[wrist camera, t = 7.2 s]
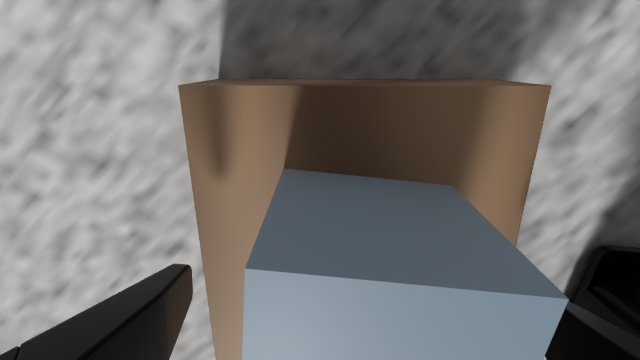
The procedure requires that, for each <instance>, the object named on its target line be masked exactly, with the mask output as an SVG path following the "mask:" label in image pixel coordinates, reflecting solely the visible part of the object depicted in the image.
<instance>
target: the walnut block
mask: <svg viewBox="0 0 640 360" xmlns="http://www.w3.org/2000/svg"><path fill="white" fill-rule="evenodd" d="M178 87H179V94H180V101H181V109H182V116H183V123H184V130H185V138H186V145H187V152H188V160H189V167H190V174H191V181H192V189H193V196H194V203H195V210H196V218H197V225H198V232H199V240H200V247H201V254H202V261H203V269H204V276H205V283H206V290H207V298H208V305H209V312H210V320H211V327H212V334H213V341H214V349H215V356H216V360H242V344H243V312H244V279H245V267H246V264H247V262H248V259H249V256H250V254H251V251H252V249H253V246H254V243H255V241H256V238H257V236H258V233H259V231H260V228H261V225H262V223H263V220H264V218H265V215H266V212H267V210H268V207H269V205H270V202H271V199H272V197H273V194H274V192H275V189H276V186H277V184H278V181H279V179H280V176H281V174H282V171H283V168H285V169H295V170H305V171H315V172H325V173H335V174H345V175H354V176H364V177H374V178H384V179H394V180H404V181H414V182H423V183H433V184H443V185H452V186H453V187H454V188H455V189H456V190H457V191H458V192H459V193H460V194H461V195H462V196H463V197H464V198H465V199H467V200H468V201H469V202H470V203H471V204H472V205H473V206H474V207H475V208H476V209H477V210H478V211H479V212H480V213H481V214H482V215H483V216H484V217H485V218H486V219H487V220H488V221H489V222H490V223H491V224H492V225H493V226H494V227H495V228H496V229H497V230H498V231H499V232H500V233H501V234H502V235H503V236H505V237H506V238H507V239H508V240H509V241H510V242H511V243H512V244H513V245H514V246H515V245H516V241H517V237H518V232H519V228H520V223H521V219H522V214H523V210H524V205H525V201H526V196H527V192H528V188H529V183H530V179H531V174H532V170H533V165H534V161H535V156H536V152H537V148H538V143H539V139H540V134H541V130H542V125H543V121H544V116H545V112H546V107H547V103H548V99H549V94H550V90H551V86H549V85H540V84H530V83H521V82H511V81H502V80H492V79H215V80H209V81H203V82H196V83H190V84H184V85H178Z"/></svg>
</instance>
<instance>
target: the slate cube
mask: <svg viewBox="0 0 640 360" xmlns="http://www.w3.org/2000/svg"><path fill="white" fill-rule="evenodd" d="M568 300H569V299H568V298H567V297H566V296H565V295H564V294H563V293H562V292H561V291H560V290H559V289H558V288H557V287H556V286H555V285H554V284H553V283H552V282H551V281H550V280H549V279H548V278H547V277H546V276H545V275H544V274H543V273H541V272H540V271H539V270H538V269H537V268H536V267H535V266H534V265H533V264H532V263H531V262H530V261H529V260H528V259H527V258H526V257H525V256H524V255H523V254H522V253H521V252H520V251H519V250H518V249H517V248H516V247H515V246H514V245H513V244H512V243H511V242H510V241H509V240H508V239H507V238H506V237H505V236H503V235H502V234H501V233H500V232H499V231H498V230H497V229H496V228H495V227H494V226H493V225H492V224H491V223H490V222H489V221H488V220H487V219H486V218H485V217H484V216H483V215H482V214H481V213H480V212H479V211H478V210H477V209H476V208H475V207H474V206H473V205H472V204H471V203H470V202H469V201H468V200H467V199H465V198H464V197H463V196H462V195H461V194H460V193H459V192H458V191H457V190H456V189H455V188H454V187H453V186H452V185H443V184H433V183H423V182H414V181H404V180H394V179H384V178H374V177H364V176H354V175H345V174H335V173H325V172H315V171H305V170H295V169H285V168H283V171H282V174H281V176H280V179H279V181H278V184H277V186H276V189H275V192H274V194H273V197H272V199H271V202H270V205H269V207H268V210H267V212H266V215H265V218H264V220H263V223H262V225H261V228H260V231H259V233H258V236H257V238H256V241H255V243H254V246H253V249H252V251H251V254H250V256H249V259H248V262H247V264H246V267H245V279H244V312H243V344H242V360H543V358H544V356H545V354H546V351H547V349H548V347H549V344H550V342H551V340H552V337H553V335H554V333H555V330H556V328H557V326H558V323H559V321H560V319H561V316H562V314H563V312H564V310H565V307H566V305H567V303H568Z"/></svg>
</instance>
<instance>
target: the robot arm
mask: <svg viewBox="0 0 640 360" xmlns="http://www.w3.org/2000/svg"><path fill="white" fill-rule="evenodd" d="M609 256H610V257H609ZM608 257H609V258H608ZM607 258H608V259H607ZM192 295H193V286H192V269H191V267H190V266H189V265H185V264H172V265H170V266H168V267H166V268H164V269H163V270H161V271H159V272H157V273H155V274H153V275H151V276H149V277H147V278H145V279H144V280H142V281H140V282H138V283H136V284H134V285H132V286H130V287H128V288H127V289H125V290H123V291H121V292H119V293H117V294H115V295H113V296H111V297H109V298H108V299H106V300H104V301H102V302H100V303H98V304H96V305H94V306H92V307H91V308H89V309H87V310H85V311H83V312H81V313H79V314H77V315H75V316H73V317H72V318H70V319H68V320H66V321H64V322H62V323H60V324H58V325H56V326H54V327H53V328H51V329H49V330H47V331H45V332H43V333H41V334H39V335H37V336H35V337H34V338H32V339H30V340H28V341H26V342H24V343H22V344H21V346H20V347H18V346H17V347H14V348H13V349H11V350H9V351H7V352H5V353H3V354H1V355H0V360H169V358H170V356H171V354H172V351H173V348H174V346H175V343H176V340H177V338H178V335H179V332H180V330H181V327H182V325H183V322H184V319H185V317H186V314H187V311H188V309H189V306H190V303H191V300H192ZM545 357H546V359H547V360H640V248H632V247H621V246H610V245H607V246H602V247H599V248H598V249H597V250H596V251H595V252H594V253H593V255H592V258H591V260H590V262H589V265H588V267H587V269H586V272H585V274H584V276H583V279H582V281H581V283H580V286H579V288H578V290H577V293H576V295H575V297H574V300H573V302H572V303H571V302H569V301H568V303H567V305H566V307H565V310H564V312H563V314H562V316H561V319H560V321H559V323H558V326H557V328H556V330H555V333H554V335H553V337H552V340H551V342H550V344H549V347H548V349H547V351H546V354H545Z"/></svg>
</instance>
